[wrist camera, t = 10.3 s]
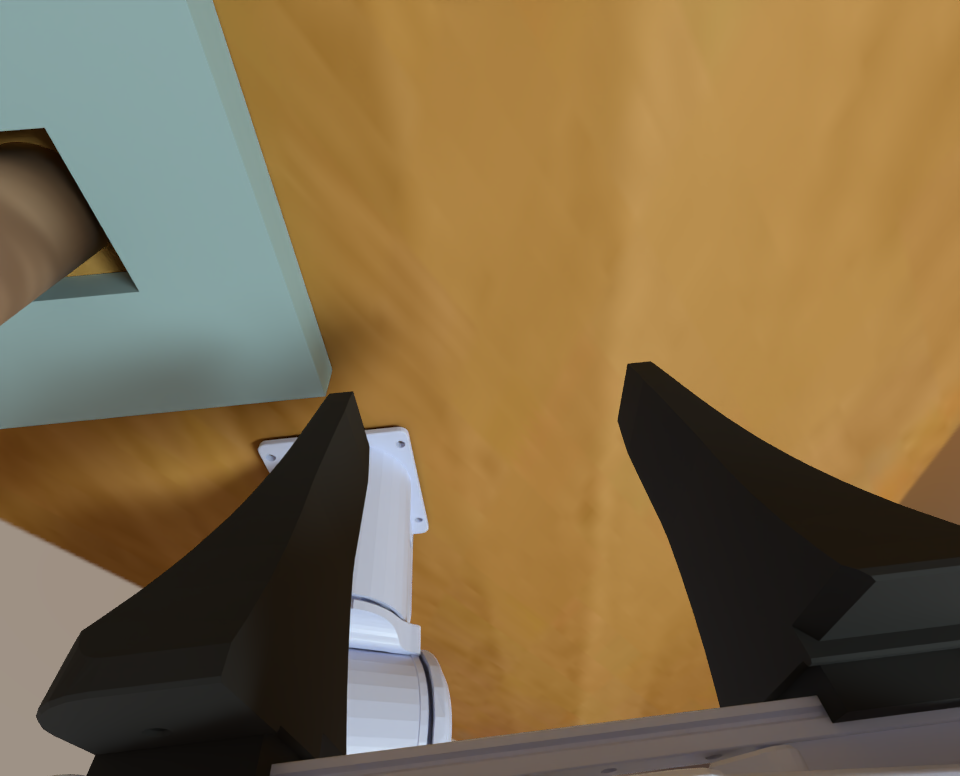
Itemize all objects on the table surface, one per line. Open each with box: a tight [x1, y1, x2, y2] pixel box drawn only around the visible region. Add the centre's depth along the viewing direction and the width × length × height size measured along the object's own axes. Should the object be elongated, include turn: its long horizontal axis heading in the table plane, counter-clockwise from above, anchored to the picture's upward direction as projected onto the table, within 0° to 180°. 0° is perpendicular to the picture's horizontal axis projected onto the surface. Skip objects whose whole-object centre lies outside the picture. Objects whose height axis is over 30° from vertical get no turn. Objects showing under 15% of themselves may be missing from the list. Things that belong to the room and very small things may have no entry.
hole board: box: [0, 0, 332, 429], centre depth 16 cm, size 17×16×2 cm
